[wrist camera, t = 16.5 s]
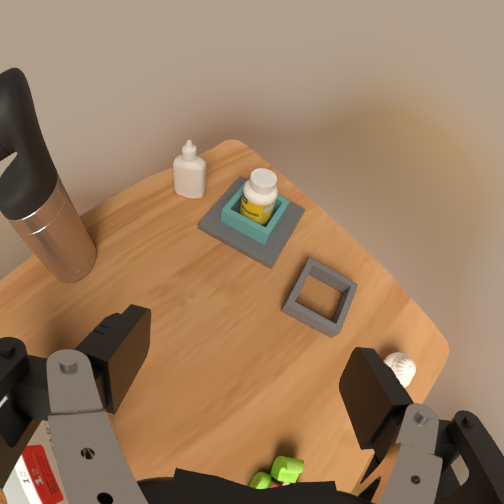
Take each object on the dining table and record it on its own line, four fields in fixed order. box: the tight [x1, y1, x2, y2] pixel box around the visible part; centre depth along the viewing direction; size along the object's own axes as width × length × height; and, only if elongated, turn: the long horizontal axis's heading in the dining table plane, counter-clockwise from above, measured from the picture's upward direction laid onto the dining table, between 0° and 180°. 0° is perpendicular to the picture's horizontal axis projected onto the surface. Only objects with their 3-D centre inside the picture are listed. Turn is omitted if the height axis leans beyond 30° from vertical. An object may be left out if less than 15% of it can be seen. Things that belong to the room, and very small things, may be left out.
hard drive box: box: [0, 396, 69, 504], centre depth 18 cm, size 16×8×20 cm, turn 21°
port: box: [198, 177, 305, 269], centre depth 48 cm, size 14×14×4 cm
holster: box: [281, 258, 358, 338], centre depth 42 cm, size 9×9×3 cm
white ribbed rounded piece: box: [383, 352, 416, 388], centre depth 35 cm, size 6×6×7 cm
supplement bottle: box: [239, 168, 278, 226], centre depth 44 cm, size 5×5×10 cm
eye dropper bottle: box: [173, 140, 206, 199], centre depth 45 cm, size 4×6×12 cm
